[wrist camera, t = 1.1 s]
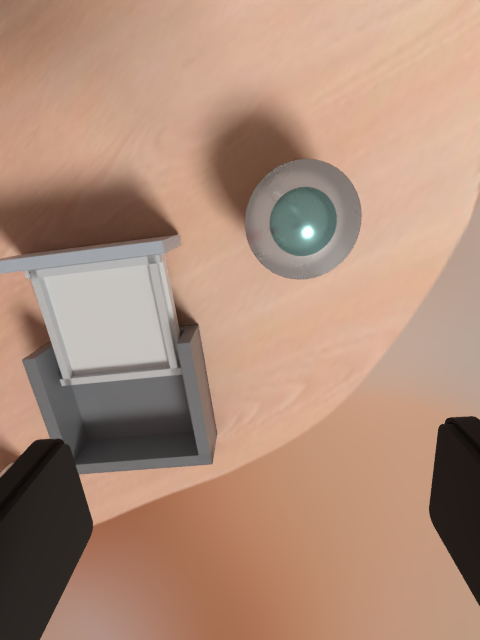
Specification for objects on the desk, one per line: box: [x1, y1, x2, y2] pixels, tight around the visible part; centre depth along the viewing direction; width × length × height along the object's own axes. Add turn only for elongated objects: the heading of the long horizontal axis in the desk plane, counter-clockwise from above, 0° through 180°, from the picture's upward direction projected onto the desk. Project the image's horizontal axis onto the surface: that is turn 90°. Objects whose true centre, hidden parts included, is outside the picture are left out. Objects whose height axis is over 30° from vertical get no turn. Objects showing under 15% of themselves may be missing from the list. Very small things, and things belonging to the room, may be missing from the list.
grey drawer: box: [0, 235, 182, 386], centre depth 25 cm, size 11×13×5 cm
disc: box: [245, 159, 361, 279], centre depth 21 cm, size 7×7×2 cm
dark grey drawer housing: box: [22, 325, 217, 474], centre depth 28 cm, size 11×13×4 cm
